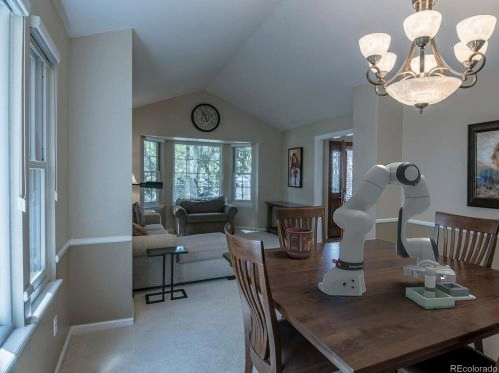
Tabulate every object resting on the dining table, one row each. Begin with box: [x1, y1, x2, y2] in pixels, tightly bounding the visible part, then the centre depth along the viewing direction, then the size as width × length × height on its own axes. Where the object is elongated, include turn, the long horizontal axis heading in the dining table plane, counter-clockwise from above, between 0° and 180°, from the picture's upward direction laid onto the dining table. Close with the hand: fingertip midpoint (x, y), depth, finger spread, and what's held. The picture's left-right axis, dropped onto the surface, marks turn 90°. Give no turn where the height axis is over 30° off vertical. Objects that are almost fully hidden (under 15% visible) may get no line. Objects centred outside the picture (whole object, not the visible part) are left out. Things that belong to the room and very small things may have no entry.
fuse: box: [423, 266, 437, 299], centre depth 132 cm, size 4×4×14 cm
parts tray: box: [405, 286, 456, 310], centre depth 133 cm, size 13×13×4 cm
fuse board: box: [435, 281, 477, 301], centre depth 141 cm, size 13×13×4 cm
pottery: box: [285, 227, 314, 260], centre depth 204 cm, size 18×18×18 cm
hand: (429, 278), depth 131 cm, fingers open, 8 cm apart
